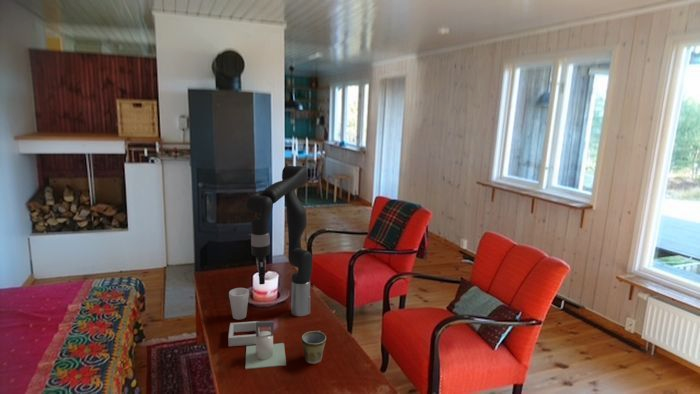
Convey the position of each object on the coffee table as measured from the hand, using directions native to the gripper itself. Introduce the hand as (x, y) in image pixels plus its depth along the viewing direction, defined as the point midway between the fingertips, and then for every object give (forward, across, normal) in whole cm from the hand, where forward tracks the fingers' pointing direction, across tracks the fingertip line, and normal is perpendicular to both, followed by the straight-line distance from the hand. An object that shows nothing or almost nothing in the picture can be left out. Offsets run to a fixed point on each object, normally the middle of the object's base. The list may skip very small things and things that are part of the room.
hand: (261, 279), depth 176 cm
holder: (+30, +7, +8) cm, 32 cm away
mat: (+30, -9, 0) cm, 32 cm away
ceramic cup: (+31, -13, -20) cm, 39 cm away
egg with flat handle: (+30, -9, 0) cm, 31 cm away
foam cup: (+31, +27, +10) cm, 43 cm away
